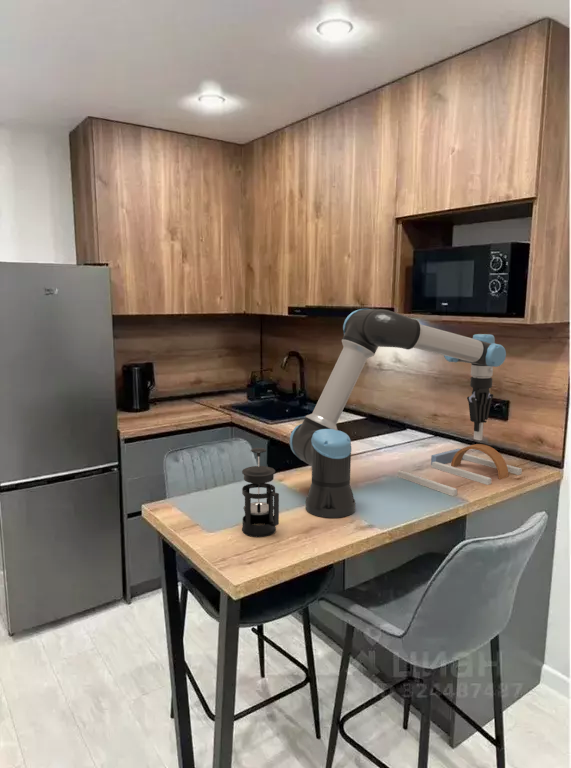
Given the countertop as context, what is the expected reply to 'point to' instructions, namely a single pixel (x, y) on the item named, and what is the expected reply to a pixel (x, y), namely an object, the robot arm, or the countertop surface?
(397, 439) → the countertop surface
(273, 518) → the french press
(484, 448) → the arch
